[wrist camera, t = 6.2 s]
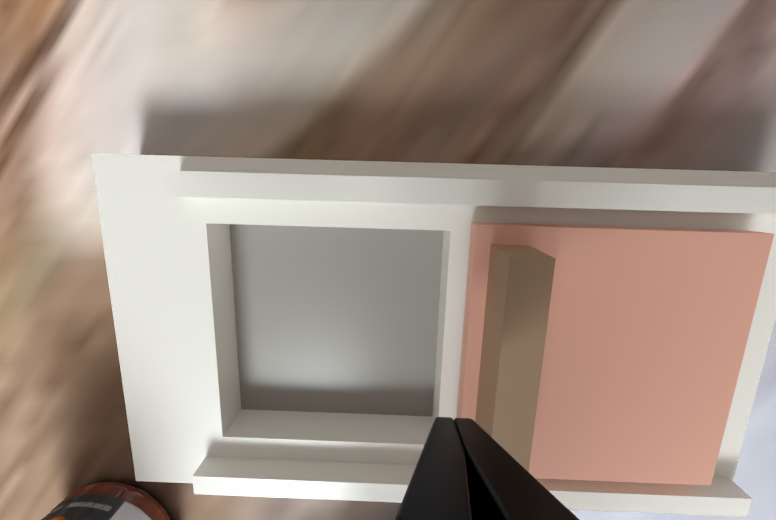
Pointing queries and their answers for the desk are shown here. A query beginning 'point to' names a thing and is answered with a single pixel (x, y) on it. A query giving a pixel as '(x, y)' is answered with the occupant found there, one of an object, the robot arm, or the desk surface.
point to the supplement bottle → (108, 504)
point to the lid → (608, 345)
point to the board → (357, 312)
